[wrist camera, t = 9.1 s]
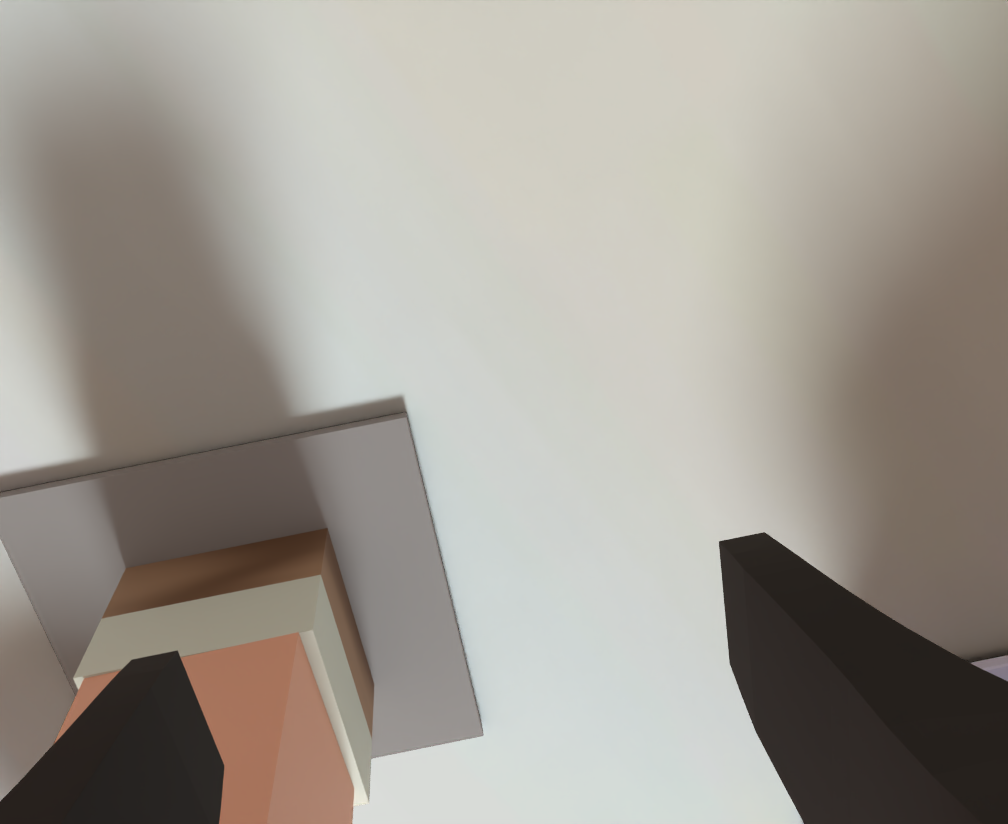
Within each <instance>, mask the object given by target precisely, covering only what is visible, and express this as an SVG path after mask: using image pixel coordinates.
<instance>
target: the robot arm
mask: <svg viewBox="0 0 1008 824" xmlns="http://www.w3.org/2000/svg"><path fill="white" fill-rule="evenodd" d="M719 547H720V559H721V570H722V581H723V593H724V604H725V615H726V626H727V638H728V649H729V660H730V665H731V668H732V671H733V673H734V676H735V679H736V681H737V684H738V687H739V689H740V692H741V695H742V697H743V700H744V703H745V705H746V708H747V710H748V713H749V715H750V718H751V720H752V723H753V726H754V728H755V731H756V733H757V735H758V737H759V738H760V740H761V742H762V744H763V746H764V748H765V750H766V752H767V754H768V756H769V758H770V760H771V761H772V763H773V765H774V767H775V769H776V771H777V773H778V775H779V777H780V779H781V780H782V782H783V784H784V786H785V788H786V790H787V792H788V794H789V796H790V797H791V799H792V801H793V803H794V805H795V807H796V809H797V811H798V812H799V814H800V816H801V818H802V820H803V822H804V824H1008V655H1006V656H1001V657H996V658H991V659H986V660H981V661H976V662H972V663H969V662H967V661H965V660H963V659H961V658H959V657H958V656H956V655H954V654H952V653H950V652H948V651H946V650H945V649H943V648H941V647H939V646H938V645H936V644H934V643H932V642H931V641H929V640H927V639H925V638H924V637H922V636H920V635H918V634H916V633H915V632H913V631H911V630H909V629H908V628H906V627H904V626H903V625H901V624H899V623H898V622H896V621H895V620H893V619H891V618H890V617H888V616H886V615H885V614H883V613H882V612H880V611H878V610H877V609H875V608H874V607H872V606H871V605H869V604H868V603H866V602H865V601H863V600H861V599H860V598H858V597H857V596H855V595H854V594H852V593H851V592H849V591H848V590H846V589H845V588H843V587H842V586H840V585H839V584H837V583H836V582H835V581H833V580H832V579H830V578H829V577H827V576H826V575H825V574H823V573H822V572H820V571H819V570H817V569H816V568H815V567H813V566H812V565H810V564H809V563H807V562H806V561H805V560H803V559H802V558H800V557H799V556H798V555H796V554H795V553H793V552H792V551H791V550H789V549H788V548H786V547H785V546H783V545H782V544H781V543H779V542H778V541H776V540H775V539H773V538H772V537H771V536H769V535H768V534H766V533H765V532H764V533H759V534H754V535H749V536H744V537H739V538H734V539H729V540H724V541H719ZM223 778H224V763H223V761H222V758H221V756H220V753H219V751H218V749H217V746H216V744H215V741H214V739H213V736H212V734H211V731H210V729H209V726H208V724H207V722H206V719H205V717H204V714H203V712H202V709H201V707H200V704H199V702H198V699H197V697H196V694H195V692H194V690H193V687H192V685H191V682H190V680H189V677H188V675H187V672H186V670H185V667H184V665H183V662H182V660H181V658H180V655H179V653H178V650H177V651H172V652H167V653H162V654H157V655H152V656H147V657H142V658H137V659H132V660H131V661H130V662H129V663H128V664H127V665H126V666H125V667H124V668H123V669H122V670H121V671H120V672H119V673H118V674H117V675H116V676H115V677H114V678H113V679H112V680H111V681H110V682H109V684H108V685H107V686H106V687H105V688H104V689H103V690H102V691H101V692H100V693H99V695H98V696H97V697H96V698H95V699H94V700H93V701H92V702H91V703H90V705H89V706H88V707H87V708H86V709H85V710H84V711H83V712H82V714H81V715H80V716H79V717H78V718H77V719H76V720H75V721H74V723H73V724H72V725H71V726H70V727H69V728H68V729H67V730H66V731H65V733H64V734H63V735H62V736H61V737H60V738H59V739H58V740H57V741H56V742H55V744H54V745H53V746H52V747H51V748H50V749H49V750H48V751H47V752H46V753H45V755H44V756H43V757H42V758H41V759H40V760H39V761H38V762H37V763H36V764H35V766H34V767H33V768H32V769H31V770H30V771H29V772H28V773H27V774H26V775H25V777H24V778H23V779H22V780H21V781H20V782H19V783H18V784H17V785H16V786H15V787H14V788H13V789H12V790H11V791H10V792H9V793H8V794H7V795H6V796H5V797H4V798H3V799H2V800H1V801H0V824H219V820H220V811H221V801H222V790H223Z"/></svg>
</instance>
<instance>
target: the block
mask: <svg viewBox="0 0 1008 824" xmlns="http://www.w3.org/2000/svg"><path fill="white" fill-rule="evenodd" d="M181 660H182V662H183V665H184V667H185V670H186V672H187V675H188V677H189V680H190V682H191V685H192V687H193V690H194V692H195V694H196V697H197V699H198V702H199V704H200V707H201V709H202V712H203V714H204V717H205V719H206V722H207V724H208V726H209V729H210V731H211V734H212V736H213V739H214V741H215V744H216V746H217V749H218V751H219V753H220V756H221V758H222V761H223V763H224V778H223V790H222V801H221V811H220V820H219V824H352V818H353V802H354V786H353V784H352V781H351V778H350V775H349V772H348V770H347V767H346V764H345V761H344V758H343V755H342V753H341V750H340V747H339V744H338V741H337V739H336V736H335V733H334V730H333V727H332V725H331V722H330V719H329V716H328V713H327V711H326V708H325V705H324V702H323V699H322V697H321V694H320V691H319V688H318V685H317V683H316V680H315V677H314V674H313V671H312V669H311V666H310V663H309V660H308V657H307V655H306V652H305V649H304V646H303V643H302V640H301V638H300V635H299V632H297V633H292V634H288V635H283V636H278V637H274V638H269V639H264V640H260V641H255V642H251V643H246V644H241V645H237V646H232V647H227V648H223V649H218V650H214V651H209V652H204V653H200V654H195V655H190V656H186V657H181ZM119 672H120V671H116V672H112V673H107V674H103V675H98V676H93V677H89V678H84V680H83V682H82V684H81V686H80V688H79V690H78V692H77V695H76V697H75V699H74V701H73V703H72V705H71V708H70V710H69V712H68V714H67V716H66V718H65V721H64V723H63V725H62V727H61V729H60V731H59V733H58V736H57V738H56V740H55V742H56V741H57V740H58V739H59V738H60V737H61V736H62V735H63V734H64V733H65V731H66V730H67V729H68V728H69V727H70V726H71V725H72V724H73V723H74V721H75V720H76V719H77V718H78V717H79V716H80V715H81V714H82V712H83V711H84V710H85V709H86V708H87V707H88V706H89V705H90V703H91V702H92V701H93V700H94V699H95V698H96V697H97V696H98V695H99V693H100V692H101V691H102V690H103V689H104V688H105V687H106V686H107V685H108V684H109V682H110V681H111V680H112V679H113V678H114V677H115V676H116V675H117V674H118V673H119ZM55 742H54V744H55ZM54 744H53V745H54Z"/></svg>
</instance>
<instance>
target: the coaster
mask: <svg viewBox="0 0 1008 824" xmlns="http://www.w3.org/2000/svg"><path fill="white" fill-rule="evenodd" d="M325 528H328V531H329V535H330V538H331V541H332V545H333V548H334V551H335V555H336V558H337V561H338V565H339V568H340V571H341V575H342V578H343V581H344V585H345V588H346V592H347V595H348V598H349V602H350V605H351V608H352V612H353V615H354V618H355V622H356V625H357V628H358V632H359V635H360V638H361V642H362V645H363V648H364V652H365V655H366V658H367V662H368V665H369V668H370V672H371V675H372V678H373V682H374V705H373V727H372V750H371V759H372V758H376V757H381V756H386V755H391V754H396V753H401V752H406V751H411V750H416V749H421V748H426V747H431V746H435V745H440V744H445V743H450V742H455V741H460V740H465V739H470V738H475V737H480V736H483V729H482V725H481V720H480V716H479V712H478V708H477V704H476V700H475V696H474V691H473V687H472V683H471V679H470V675H469V671H468V667H467V662H466V658H465V654H464V650H463V646H462V642H461V638H460V633H459V629H458V625H457V621H456V617H455V613H454V609H453V604H452V600H451V596H450V592H449V588H448V584H447V580H446V576H445V571H444V567H443V563H442V559H441V555H440V551H439V547H438V542H437V538H436V534H435V530H434V526H433V522H432V518H431V513H430V509H429V505H428V501H427V497H426V493H425V489H424V484H423V480H422V476H421V472H420V468H419V464H418V460H417V455H416V451H415V447H414V443H413V439H412V435H411V431H410V426H409V422H408V418H407V414H406V412H404V413H399V414H394V415H389V416H384V417H378V418H373V419H368V420H363V421H358V422H353V423H348V424H343V425H338V426H333V427H328V428H323V429H318V430H313V431H308V432H303V433H298V434H293V435H288V436H283V437H278V438H273V439H268V440H262V441H257V442H252V443H247V444H242V445H237V446H232V447H227V448H222V449H217V450H212V451H207V452H202V453H197V454H192V455H187V456H182V457H177V458H172V459H167V460H162V461H157V462H152V463H146V464H141V465H136V466H131V467H126V468H121V469H116V470H111V471H106V472H101V473H96V474H91V475H86V476H81V477H76V478H71V479H66V480H61V481H56V482H51V483H46V484H41V485H35V486H30V487H25V488H20V489H15V490H10V491H5V492H0V539H1V541H2V543H3V545H4V547H5V549H6V551H7V553H8V555H9V557H10V560H11V562H12V564H13V566H14V568H15V570H16V572H17V574H18V576H19V578H20V580H21V583H22V585H23V587H24V589H25V591H26V593H27V595H28V597H29V599H30V601H31V603H32V606H33V608H34V610H35V612H36V614H37V616H38V618H39V620H40V622H41V624H42V626H43V629H44V631H45V633H46V635H47V637H48V639H49V641H50V643H51V645H52V647H53V650H54V652H55V654H56V656H57V658H58V660H59V662H60V664H61V666H62V668H63V670H64V673H65V675H66V677H67V679H68V681H69V683H70V685H71V687H72V689H73V691H74V693H75V696H76V695H77V692H78V688H77V686H76V684H75V681H74V679H73V677H74V675H75V673H76V671H77V669H78V667H79V665H80V663H81V661H82V659H83V656H84V654H85V652H86V650H87V648H88V646H89V644H90V642H91V640H92V638H93V636H94V633H95V631H96V629H97V627H98V625H99V623H100V621H101V619H102V617H103V615H104V613H105V611H106V608H107V606H108V604H109V602H110V600H111V598H112V596H113V594H114V592H115V590H116V588H117V586H118V583H119V581H120V579H121V577H122V575H123V573H124V571H125V569H126V568H130V567H135V566H140V565H145V564H150V563H155V562H160V561H165V560H170V559H175V558H180V557H185V556H190V555H195V554H200V553H205V552H210V551H215V550H220V549H225V548H230V547H235V546H240V545H245V544H250V543H255V542H260V541H265V540H270V539H275V538H280V537H285V536H290V535H295V534H300V533H305V532H310V531H315V530H320V529H325Z"/></svg>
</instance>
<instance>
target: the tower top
mask: <svg viewBox="0 0 1008 824" xmlns="http://www.w3.org/2000/svg"><path fill="white" fill-rule="evenodd" d="M297 632H299V635H300V638H301V640H302V643H303V646H304V649H305V652H306V655H307V657H308V660H309V663H310V666H311V669H312V671H313V674H314V677H315V680H316V683H317V685H318V688H319V691H320V694H321V697H322V699H323V702H324V705H325V708H326V711H327V713H328V716H329V719H330V722H331V725H332V727H333V730H334V733H335V736H336V739H337V741H338V744H339V747H340V750H341V753H342V755H343V758H344V761H345V764H346V767H347V770H348V772H349V775H350V778H351V781H352V784H353V786H354V802H353V806H358V805H363V804H368V803H369V794H370V772H371V750H372V738H371V735H370V732H369V728H368V725H367V722H366V719H365V715H364V712H363V709H362V706H361V703H360V699H359V696H358V693H357V690H356V686H355V683H354V680H353V677H352V674H351V670H350V667H349V664H348V661H347V657H346V654H345V651H344V648H343V645H342V641H341V638H340V635H339V632H338V628H337V625H336V622H335V619H334V616H333V612H332V609H331V606H330V603H329V599H328V596H327V593H326V590H325V587H324V583H323V580H322V577H321V575H317V576H312V577H307V578H302V579H297V580H292V581H287V582H282V583H277V584H272V585H267V586H262V587H257V588H252V589H247V590H242V591H237V592H232V593H227V594H222V595H217V596H212V597H207V598H202V599H197V600H192V601H187V602H182V603H177V604H172V605H167V606H162V607H157V608H152V609H147V610H142V611H137V612H132V613H127V614H122V615H117V616H112V617H107V618H102V619H101V621H100V623H99V625H98V627H97V629H96V631H95V633H94V636H93V638H92V640H91V642H90V644H89V646H88V648H87V650H86V652H85V654H84V656H83V659H82V661H81V663H80V665H79V667H78V669H77V671H76V673H75V675H74V677H73V679H74V681H75V684H76V686H77V688H78V690H79V688H80V686H81V684H82V682H83V680H84V678H89V677H93V676H98V675H103V674H107V673H112V672H116V671H121V670H122V669H123V668H124V667H125V666H126V665H127V664H128V663H129V662H130V661H131V660H132V659H137V658H142V657H147V656H152V655H157V654H162V653H167V652H172V651H177V650H178V653H179V655H180V658H181V657H186V656H190V655H195V654H200V653H204V652H209V651H214V650H218V649H223V648H227V647H232V646H237V645H241V644H246V643H251V642H255V641H260V640H264V639H269V638H274V637H278V636H283V635H288V634H292V633H297Z"/></svg>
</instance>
